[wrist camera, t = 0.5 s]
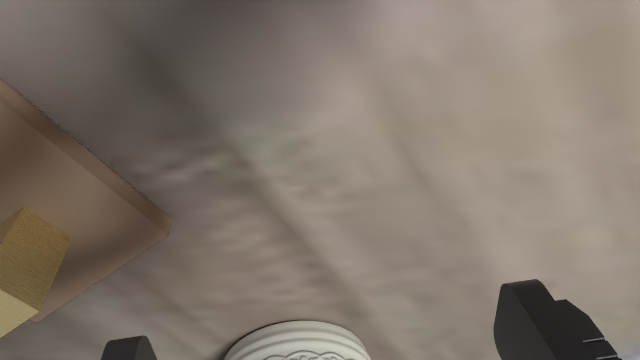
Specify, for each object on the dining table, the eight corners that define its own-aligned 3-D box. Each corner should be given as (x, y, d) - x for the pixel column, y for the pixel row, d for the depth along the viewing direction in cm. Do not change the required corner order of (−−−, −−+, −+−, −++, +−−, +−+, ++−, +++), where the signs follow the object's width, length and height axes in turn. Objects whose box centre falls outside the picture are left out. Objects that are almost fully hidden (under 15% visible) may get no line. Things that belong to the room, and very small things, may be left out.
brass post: (-13, 233, 28) (-64, 309, 23) (24, 205, 27) (-21, 277, 22) (35, 264, 29) (-3, 339, 25) (72, 238, 29) (39, 311, 24)
